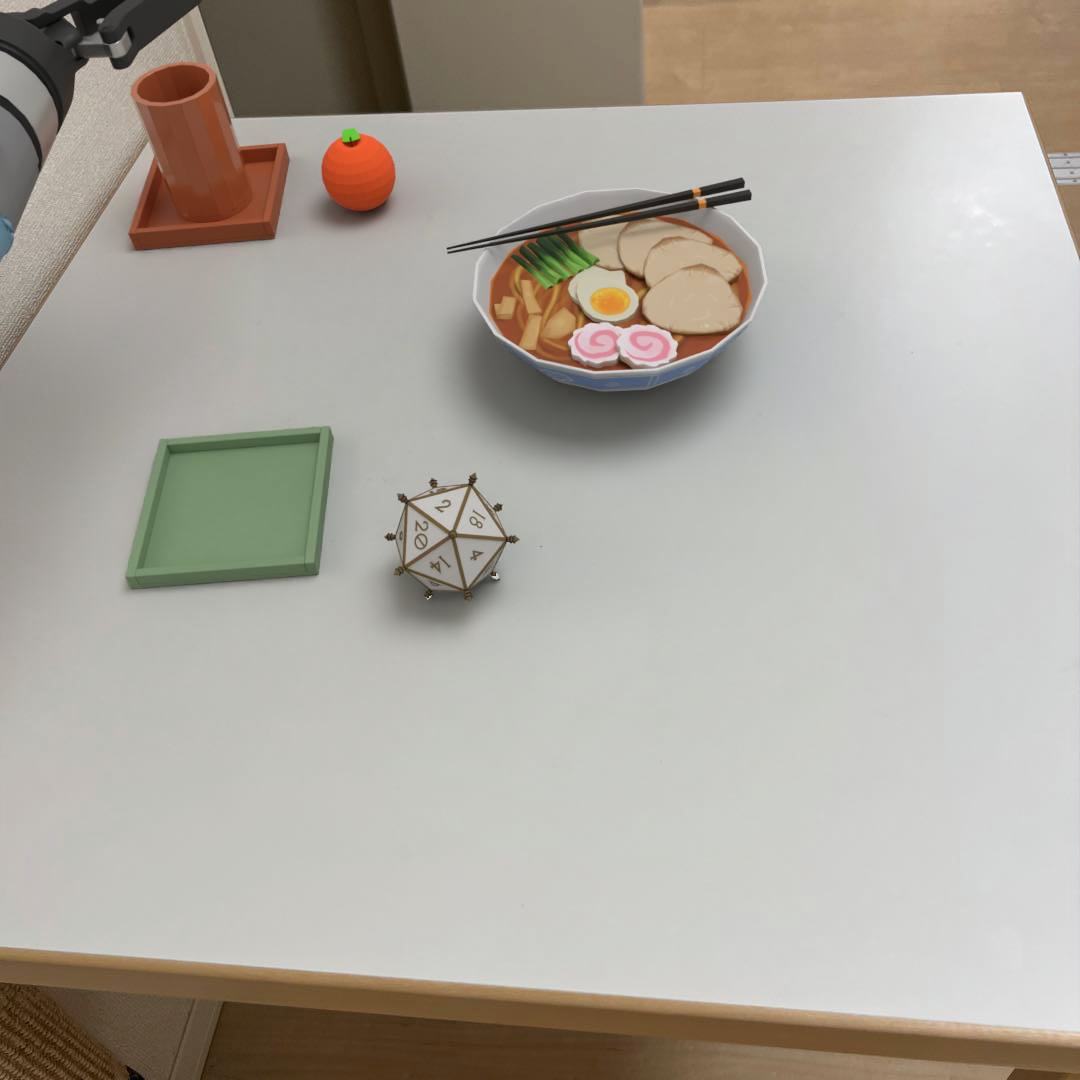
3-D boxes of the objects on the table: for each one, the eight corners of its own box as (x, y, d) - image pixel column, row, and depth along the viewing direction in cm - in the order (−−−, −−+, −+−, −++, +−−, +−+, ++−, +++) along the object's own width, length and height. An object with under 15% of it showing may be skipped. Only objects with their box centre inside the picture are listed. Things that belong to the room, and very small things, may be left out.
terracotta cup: (163, 220, 103) (115, 103, 94) (195, 175, 108) (153, 59, 98) (235, 225, 102) (194, 107, 93) (264, 179, 106) (228, 63, 97)
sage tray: (131, 588, 76) (124, 577, 75) (165, 451, 84) (159, 439, 83) (318, 574, 75) (313, 562, 74) (333, 437, 84) (329, 425, 83)
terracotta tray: (135, 250, 101) (127, 233, 100) (160, 170, 110) (154, 154, 108) (274, 238, 101) (269, 221, 99) (289, 159, 109) (285, 142, 108)
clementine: (324, 186, 106) (306, 120, 100) (392, 172, 106) (379, 105, 101) (336, 232, 101) (318, 165, 95) (407, 216, 101) (394, 148, 96)
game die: (481, 620, 76) (492, 625, 66) (369, 579, 76) (362, 578, 66) (524, 504, 77) (541, 491, 67) (413, 462, 76) (413, 443, 66)
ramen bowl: (494, 474, 80) (481, 395, 74) (450, 287, 94) (436, 207, 88) (814, 411, 82) (829, 328, 75) (723, 236, 96) (729, 155, 90)
